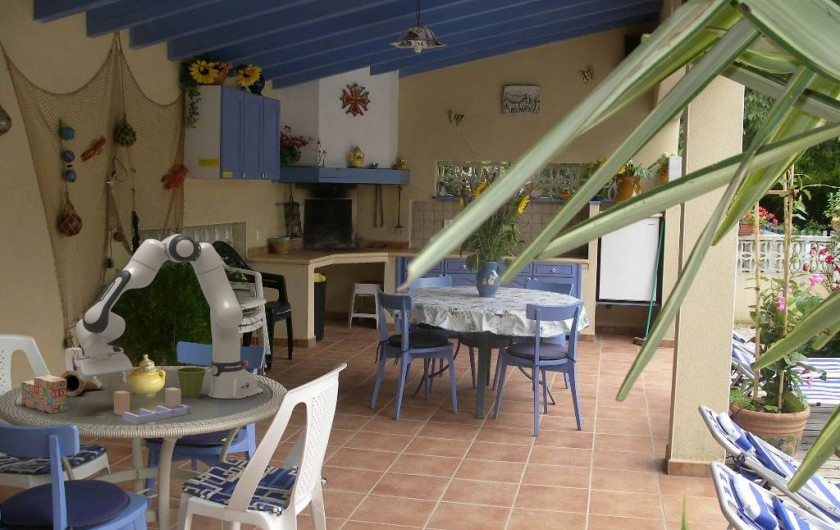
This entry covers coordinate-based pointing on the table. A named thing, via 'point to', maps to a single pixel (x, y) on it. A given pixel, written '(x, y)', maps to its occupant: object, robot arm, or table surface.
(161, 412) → the rack
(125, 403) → the tan rectangular block
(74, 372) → the clay pipe
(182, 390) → the plant pot
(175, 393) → the beige upright block
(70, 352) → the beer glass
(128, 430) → the table surface
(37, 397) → the stack of blocks
